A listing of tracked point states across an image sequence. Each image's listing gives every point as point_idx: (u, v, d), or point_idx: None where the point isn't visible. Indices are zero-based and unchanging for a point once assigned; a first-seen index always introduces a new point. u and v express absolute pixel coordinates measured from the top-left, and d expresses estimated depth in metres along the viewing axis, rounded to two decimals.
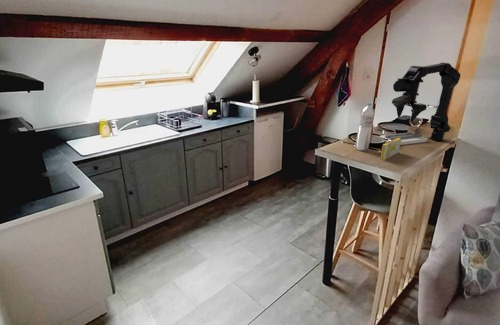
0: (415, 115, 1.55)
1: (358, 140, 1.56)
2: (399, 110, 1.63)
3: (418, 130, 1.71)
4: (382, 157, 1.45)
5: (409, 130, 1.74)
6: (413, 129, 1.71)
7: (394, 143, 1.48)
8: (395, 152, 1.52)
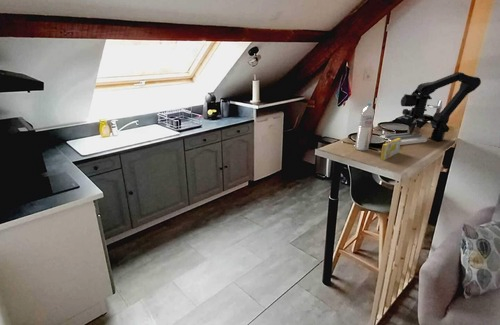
0: (411, 127, 1.71)
1: (358, 140, 1.56)
2: (417, 125, 1.73)
3: (418, 130, 1.71)
4: (382, 157, 1.45)
5: None
6: None
7: (394, 143, 1.48)
8: (395, 152, 1.52)
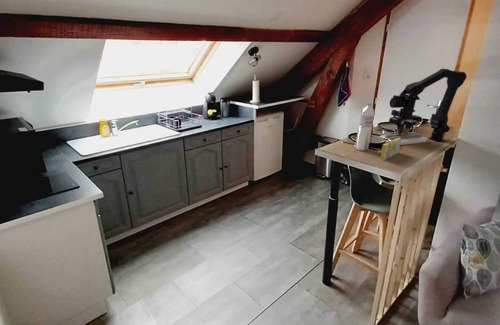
0: (399, 128, 1.68)
1: (358, 140, 1.56)
2: (406, 126, 1.71)
3: (407, 131, 1.68)
4: (382, 157, 1.45)
5: None
6: (402, 130, 1.68)
7: (394, 143, 1.48)
8: (395, 152, 1.52)
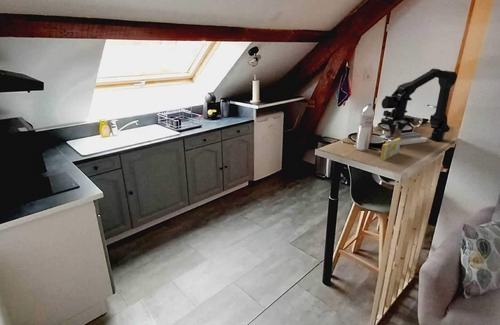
0: (391, 129, 1.67)
1: (358, 140, 1.56)
2: (398, 127, 1.69)
3: (399, 132, 1.67)
4: (382, 157, 1.45)
5: None
6: (394, 131, 1.67)
7: (394, 143, 1.48)
8: (395, 152, 1.52)
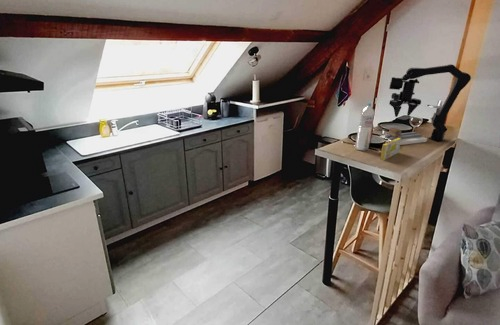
0: (396, 110, 1.74)
1: (358, 140, 1.56)
2: (409, 109, 1.78)
3: (399, 132, 1.67)
4: (382, 157, 1.45)
5: (390, 132, 1.70)
6: (394, 131, 1.67)
7: (394, 143, 1.48)
8: (395, 152, 1.52)
